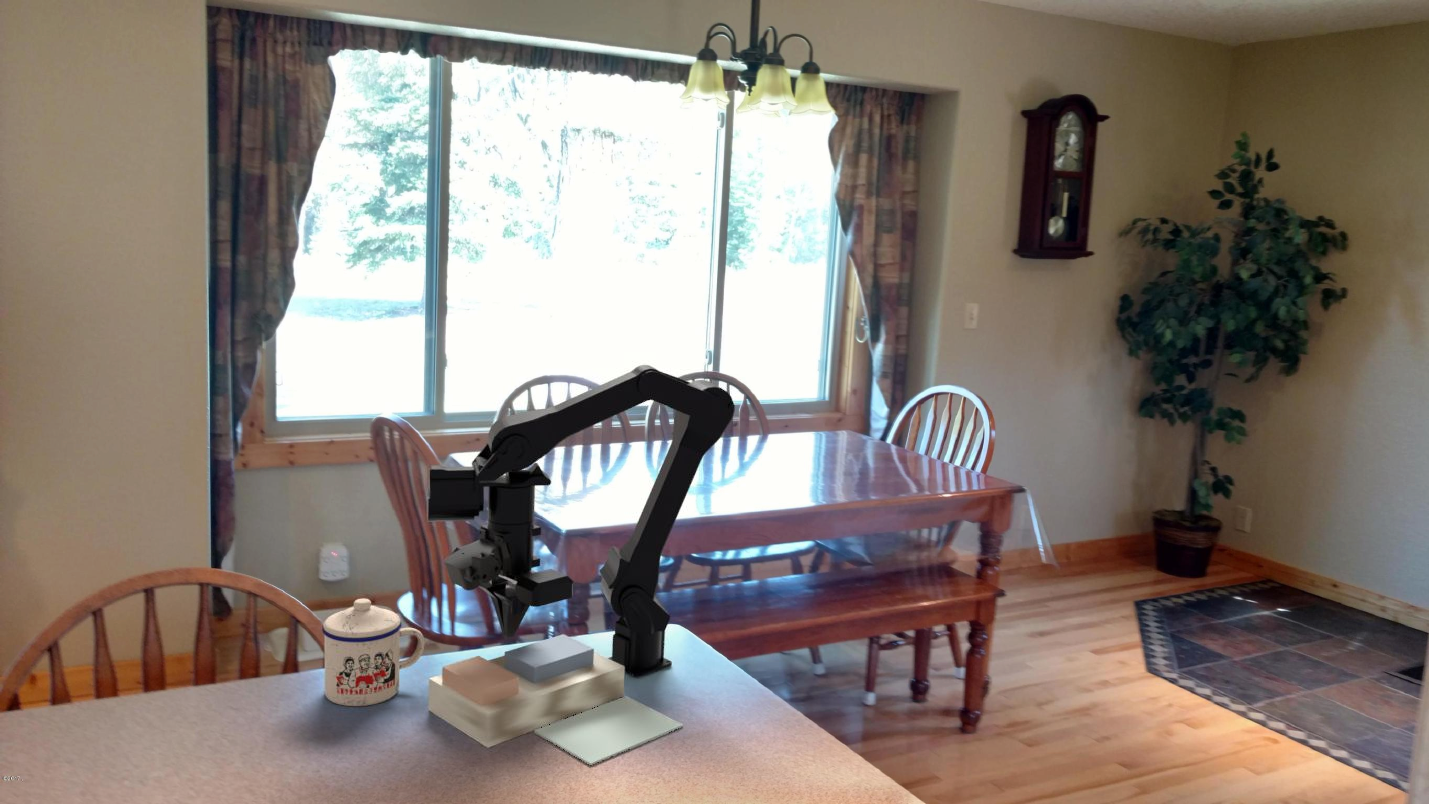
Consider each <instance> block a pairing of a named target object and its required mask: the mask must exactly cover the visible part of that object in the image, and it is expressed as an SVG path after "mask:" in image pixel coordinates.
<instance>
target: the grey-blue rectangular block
mask: <svg viewBox="0 0 1429 804" xmlns="http://www.w3.org/2000/svg"><path fill="white" fill-rule="evenodd" d="M594 652H595V648H594V647H591V646H589V645H587V644H585V643H583V642H580V641H579V640H576V639H574V638H572V637H570V636H568V635H567V634H564V633H562V634H560V635H556V636H554V637H553V636H552V637H550V638H547V639H543V640H541V641H535V642H533V643H530V644H527V645H526V644H525V645H524V646H520V647H516V648H513V649H510V650H507V651H504V655H503V656H504V668H506V669H508V670H510V671H511V672H513V673H515V674H517V675H519V676H521V677H523V678H524V679H526V680H528V681H530V682H532V683H534V684H535V683H538V682H541V681H544V680H547V679H550V678H553V677H556V676H559V675H562V674H565V673H568V672H571V671H574V670H577V669H580V668H583V667H586V666H589V665H592V664H593V660H594Z"/></svg>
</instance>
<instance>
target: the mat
mask: <svg viewBox="0 0 1429 804" xmlns="http://www.w3.org/2000/svg"><path fill="white" fill-rule="evenodd" d="M681 727H682V728H683V727H684V724H682V723H681V722H678V721H676V720H675V719H673V718H670V717H668V716H667V715H664V714H663V713H661V712H659V711H658V710H655V709H652V708H650V707H649V706H647V705H645V704H643V703H641V702H639V701H637V700H635V699H633V698H631V697H629V696H627V695H625V696H623V697H622V698H619V699H617V700H614V701H611V702H609V703H606V704H603V705H601V706H598V707H595V708H593V709H590V710H587V711H584V712H582V713H579V714H576V715H574V716H571V717H568V718H566V719H563V720H560V721H558V722H555V723H552V724H550V725H547V726H544V727H542V728H539V729H536V730H534V734H536V735H538V736H539V737H541V738H542V739H544V740H546V741H547V740H548V741H547V742H549V741H550V742H549V743H551V742H552V743H553V744H552V743H551V744H552V745H554V746H556V745H557V746H558V748H559V747H560V748H559V749H561V750H563V749H564V750H565V751H564V750H563V751H564V752H566V751H567V752H566V753H568V752H569V753H570V754H569V753H568V754H569V755H571V756H573V757H574V756H575V757H574V758H576V757H577V758H576V759H578V758H579V759H581V760H582V761H581V760H580V761H581V762H583V761H584V762H583V763H584V764H586V763H588V764H589V765H588V764H587V765H588V766H590V765H592V764H594V765H596V764H595V763H597V762H599V763H601V762H603V761H602V760H604V761H606V760H608V759H611V758H612V757H611V756H613V757H615V756H618V755H619V754H618V753H620V754H622V753H621V752H623V753H625V752H626V751H625V750H627V751H629V750H628V749H630V750H632V749H634V748H636V747H639V746H642V745H644V744H646V743H649V742H650V741H653V740H655V739H657V738H661V737H662V736H665V735H668V734H670V733H671V731H672V732H674V730H675V729H677V730H679V729H681ZM678 728H679V729H678ZM675 731H676V730H675ZM669 732H670V733H669ZM648 741H649V742H648ZM557 746H556V747H557ZM624 751H625V752H624ZM617 754H618V755H617ZM610 757H611V758H610ZM607 758H608V759H607ZM579 759H578V760H579ZM605 759H606V760H605ZM597 764H598V763H597ZM592 766H593V765H592Z"/></svg>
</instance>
